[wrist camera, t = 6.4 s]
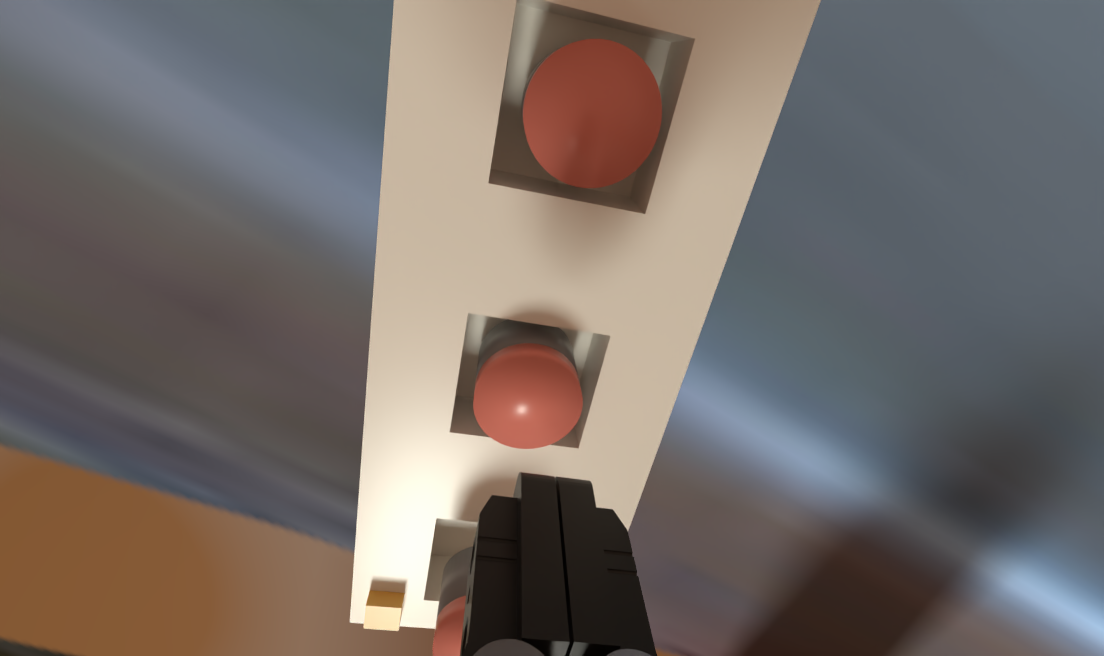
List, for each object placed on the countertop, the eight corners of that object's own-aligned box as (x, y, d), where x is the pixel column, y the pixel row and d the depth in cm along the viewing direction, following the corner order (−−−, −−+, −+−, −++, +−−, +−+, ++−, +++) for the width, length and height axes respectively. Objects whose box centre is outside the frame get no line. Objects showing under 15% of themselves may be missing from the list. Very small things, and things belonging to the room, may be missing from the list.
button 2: (582, 324, 17) (594, 366, 14) (562, 404, 18) (569, 454, 15) (486, 308, 16) (481, 349, 14) (472, 391, 17) (466, 442, 15)
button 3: (538, 548, 18) (542, 621, 16) (522, 608, 19) (523, 683, 17) (448, 540, 17) (438, 613, 15) (438, 601, 19) (427, 677, 16)
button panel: (807, -172, 14) (937, -277, 9) (577, 555, 24) (590, 654, 20) (450, -289, 12) (418, -471, 8) (375, 536, 23) (345, 638, 19)
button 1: (650, 59, 13) (680, 57, 11) (620, 178, 15) (640, 199, 12) (533, 31, 13) (538, 22, 11) (512, 156, 14) (512, 174, 12)
